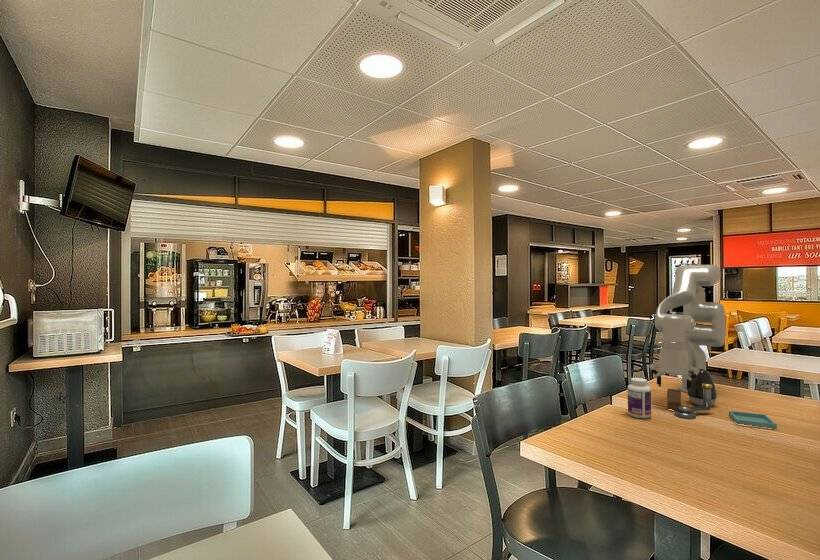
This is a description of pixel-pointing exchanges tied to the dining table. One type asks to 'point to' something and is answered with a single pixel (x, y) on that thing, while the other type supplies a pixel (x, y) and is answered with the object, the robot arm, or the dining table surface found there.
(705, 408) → the crank
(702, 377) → the black tapered rounded piece
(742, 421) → the tray
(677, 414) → the crank base
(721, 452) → the dining table surface
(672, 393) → the block
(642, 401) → the pill bottle
